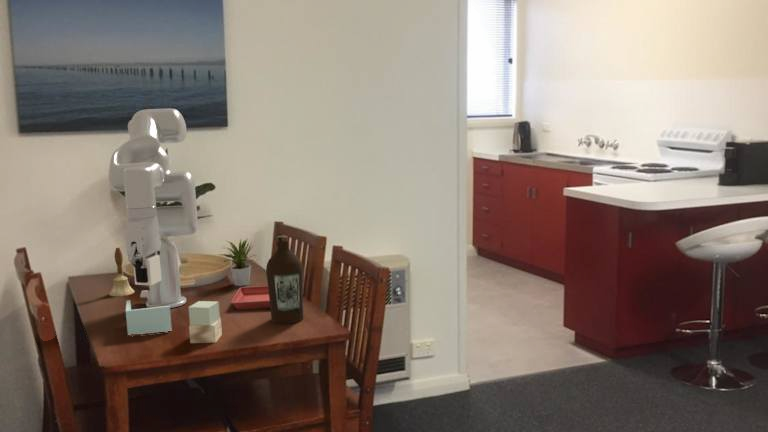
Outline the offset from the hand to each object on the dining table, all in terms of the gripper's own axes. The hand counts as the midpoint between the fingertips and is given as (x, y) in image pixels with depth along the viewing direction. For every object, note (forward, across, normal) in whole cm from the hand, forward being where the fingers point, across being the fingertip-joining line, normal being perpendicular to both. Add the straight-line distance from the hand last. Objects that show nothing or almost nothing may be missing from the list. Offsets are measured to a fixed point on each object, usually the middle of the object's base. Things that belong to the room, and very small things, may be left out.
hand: (148, 278), depth 216 cm
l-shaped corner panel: (+19, -12, -9) cm, 24 cm away
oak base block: (+19, -6, +12) cm, 23 cm away
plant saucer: (+20, -43, +13) cm, 49 cm away
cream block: (+1, 0, 0) cm, 1 cm away
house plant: (+20, -64, -5) cm, 67 cm away
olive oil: (+19, -26, +28) cm, 43 cm away
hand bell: (+20, -46, -41) cm, 65 cm away
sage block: (+14, -6, +12) cm, 20 cm away
